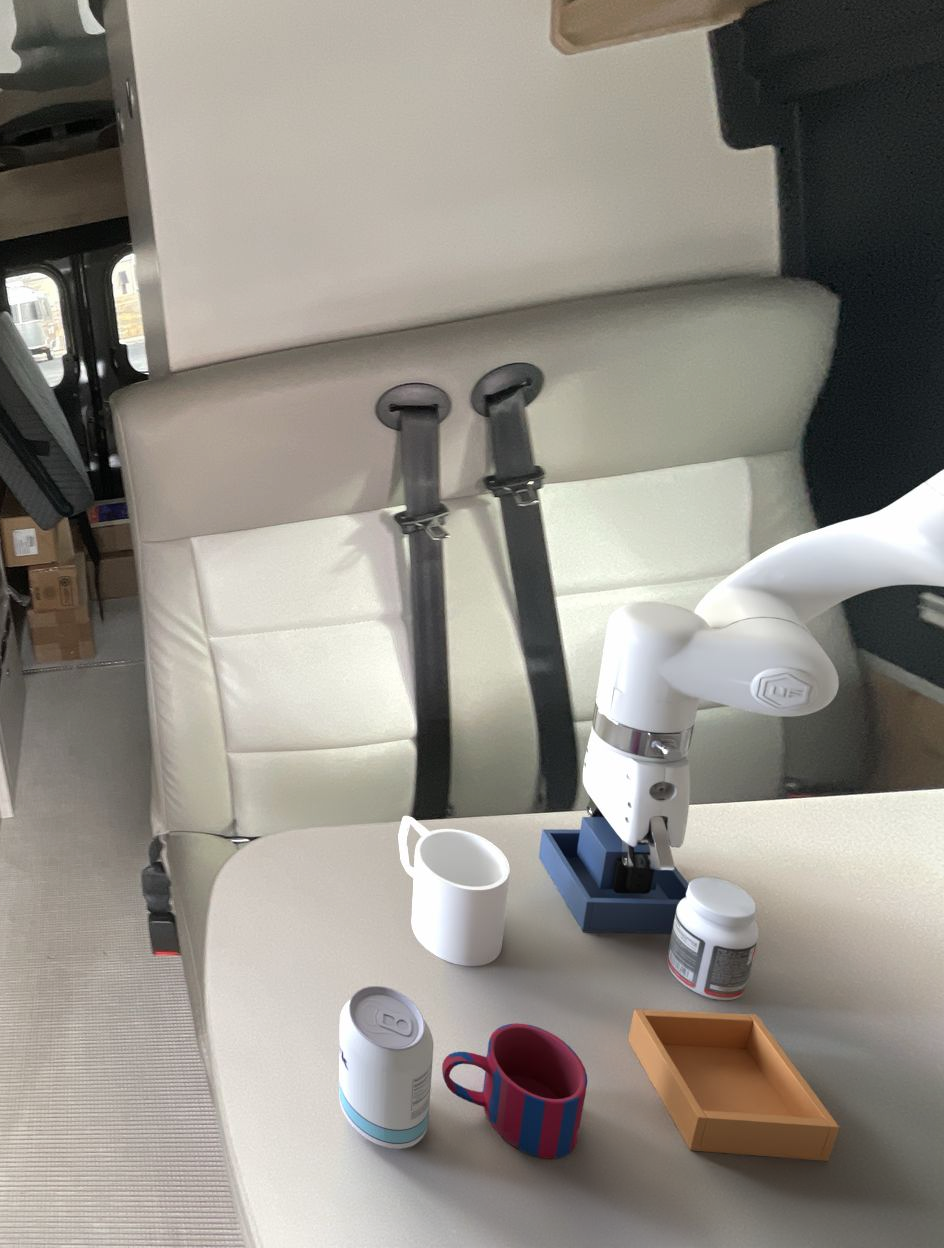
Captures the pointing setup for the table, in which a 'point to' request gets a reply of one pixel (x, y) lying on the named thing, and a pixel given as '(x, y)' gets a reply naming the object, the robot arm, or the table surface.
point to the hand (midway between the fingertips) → (615, 868)
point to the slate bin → (608, 891)
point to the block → (603, 851)
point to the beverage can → (385, 1067)
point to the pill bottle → (714, 939)
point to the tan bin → (731, 1085)
